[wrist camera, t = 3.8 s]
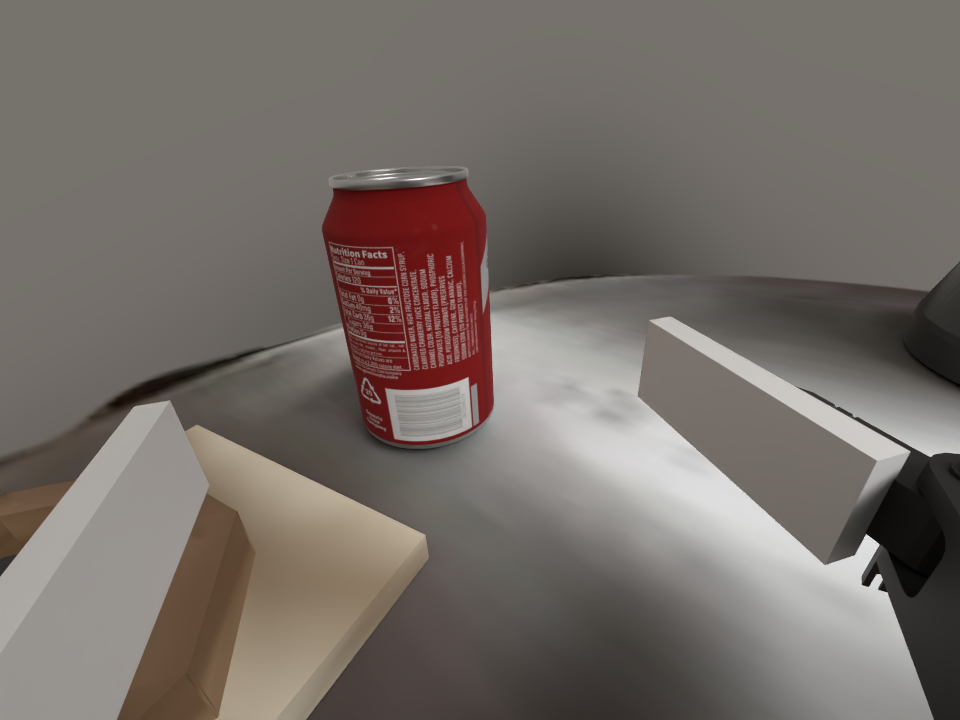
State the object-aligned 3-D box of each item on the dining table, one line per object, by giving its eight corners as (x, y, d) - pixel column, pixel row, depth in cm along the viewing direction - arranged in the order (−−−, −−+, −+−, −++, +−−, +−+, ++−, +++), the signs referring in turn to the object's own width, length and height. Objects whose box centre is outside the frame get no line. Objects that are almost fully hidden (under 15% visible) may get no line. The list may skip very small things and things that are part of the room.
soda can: (493, 460, 20) (480, 176, 14) (348, 461, 20) (279, 187, 15) (495, 383, 26) (486, 161, 20) (383, 385, 26) (344, 169, 20)
